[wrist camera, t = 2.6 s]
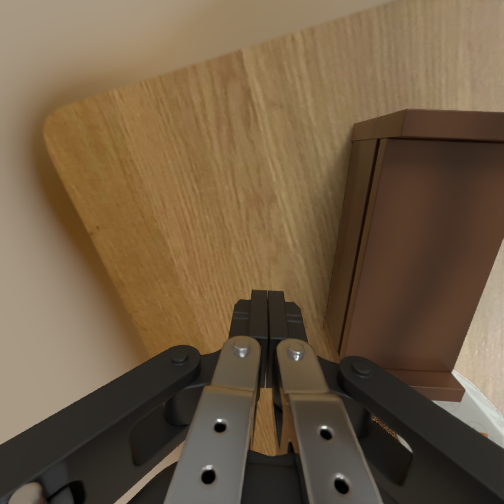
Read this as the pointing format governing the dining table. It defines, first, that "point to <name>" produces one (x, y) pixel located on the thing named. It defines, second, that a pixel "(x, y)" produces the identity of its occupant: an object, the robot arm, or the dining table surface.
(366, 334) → the storage chest
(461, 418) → the small box
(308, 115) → the dining table surface
